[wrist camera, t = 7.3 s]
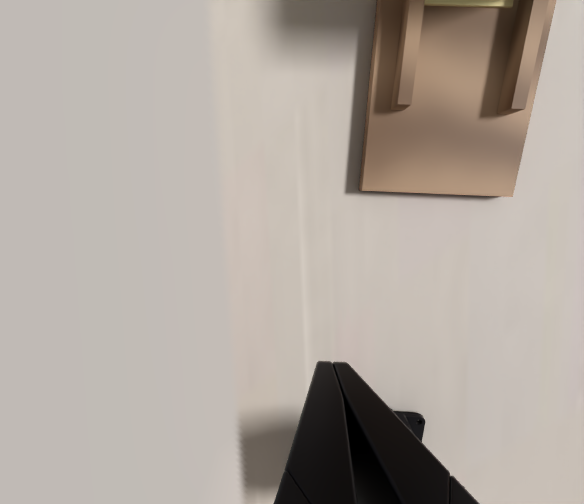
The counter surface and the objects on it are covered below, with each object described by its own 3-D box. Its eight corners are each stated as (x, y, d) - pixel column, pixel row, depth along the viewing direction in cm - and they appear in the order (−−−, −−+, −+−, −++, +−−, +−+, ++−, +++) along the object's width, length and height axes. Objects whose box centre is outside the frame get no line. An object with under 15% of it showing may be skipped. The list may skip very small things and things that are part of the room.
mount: (501, 196, 19) (553, 198, 15) (358, 190, 19) (374, 191, 15) (577, -161, 15) (678, -287, 11) (392, -166, 15) (426, -292, 11)
